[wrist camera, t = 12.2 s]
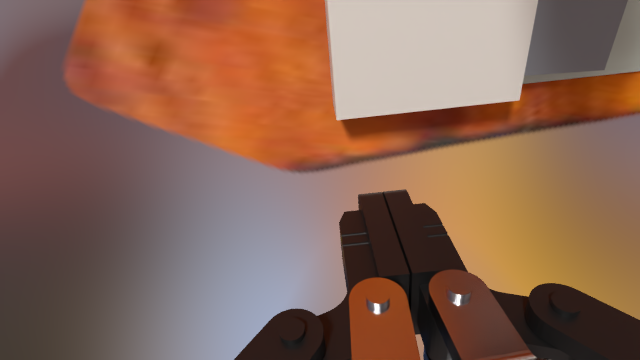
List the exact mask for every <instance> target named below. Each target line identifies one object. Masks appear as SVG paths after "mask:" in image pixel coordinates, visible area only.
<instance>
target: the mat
mask: <svg viewBox="0 0 640 360" xmlns="http://www.w3.org/2000/svg"><path fill="white" fill-rule="evenodd" d="M636 71H640V0H628V2H627V5H626V8H625V11H624V14H623V17H622V19H621V22H620V25H619V28H618V31H617V34H616V37H615V40H614V43H613V46H612V49H611V52H610V55H609V58H608V61H607V64H606V67H605V70H599V71H585V72H571V73H557V74H543V75H529V76H524V79H523V84H527V83H536V82H545V81H554V80H563V79H573V78H582V77H591V76H600V75H609V74H618V73H627V72H636Z"/></svg>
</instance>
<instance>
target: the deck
mask: <svg viewBox="0 0 640 360" xmlns="http://www.w3.org/2000/svg"><path fill="white" fill-rule="evenodd" d="M537 4H538V0H325V10H326V22H327V34H328V46H329V59H330V71H331V83H332V95H333V105H334V110H335V114H336V119H337V120H344V119H353V118H362V117H371V116H380V115H389V114H398V113H408V112H417V111H426V110H435V109H444V108H453V107H462V106H472V105H481V104H490V103H499V102H508V101H517V100H520V94H521V89H522V84H523V79H524V73H525V68H526V63H527V57H528V52H529V47H530V41H531V36H532V31H533V25H534V20H535V15H536V9H537Z"/></svg>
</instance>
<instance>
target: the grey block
mask: <svg viewBox="0 0 640 360" xmlns="http://www.w3.org/2000/svg"><path fill="white" fill-rule="evenodd" d="M627 2H628V0H538V4H537V9H536V15H535V20H534V25H533V31H532V36H531V41H530V47H529V52H528V57H527V63H526V68H525V73H524V76H529V75H543V74H557V73H571V72H585V71H599V70H605V67H606V64H607V61H608V58H609V55H610V52H611V49H612V46H613V43H614V40H615V37H616V34H617V31H618V28H619V25H620V22H621V19H622V17H623V14H624V11H625V8H626V5H627Z"/></svg>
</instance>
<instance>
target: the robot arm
mask: <svg viewBox="0 0 640 360" xmlns="http://www.w3.org/2000/svg"><path fill="white" fill-rule="evenodd" d="M358 204H359V210H357V211H348V212H344V214H343V216H342V218H341V220H340V222H339V225H340V237H341V248H342V257H343V258H342V259H343V266H344V273H345V280H346V287H347V295H346V297H345V298H344V300H343V301H342V303H341V304H339V305H338V306H337V307H336V308H334V309H332V310H330V311H328V312H326V313H323V314H321V315H319V316H316V315H315V314H313V313H312V312H310V311H307V310H304V309H290V310H286V311H283V312H281V313H279V314H277V315H276V316H274V317H273V318H272V319H271V320H270V321H269V322H268V323H267V324H266V325H265V326H264V327H263V329H262V330H261V331H260V332H259V333H258V334H257V335H256V336H255V337H254V338H253V339H252V341H251V342H250V343H249V344H248V345H247V346H246V347H245V348H244V349H243V350H242V351H241V353H240V354H239V355H238V356H237V357H236V358H235V359H234V360H420V356H419V351H418V346H417V341H416V337H415V335H416V334H421V337H422V341H423V344H424V354H423V357H424V360H640V320H638V319H636V318H634V317H632V316H630V315H628V314H626V313H624V312H622V311H620V310H618V309H616V308H613V307H611V306H609V305H607V304H605V303H603V302H601V301H599V300H597V299H595V298H593V297H591V296H589V295H587V294H585V293H582V292H581V291H578V290H576V289H574V288H572V287H569V286H566V285H561V284H555V283H547V284H542V285H538V286H537V287H535V288H534V289H533V290H532V291H531V293H530V295H529V297H527V296H520V295H514V294H507V293H502V292H497V291H494V290H491V289H489V288H488V287H487V286H486V284H485V283H484V282H483V281H482V280H481V279H480V278H478V277H477V276H475V275H473V274H471V273H468V271H467V270H466V268H465V266H464V264H463V262H462V260H461V258H460V256H459V254H458V252H457V251H456V249H455V247H454V245H453V243H452V241H451V239H450V237H449V236H448V235H447V232H446V230H445V228H444V226H443V225H442V222H441V220H440V218H439V217H438V215H437V213H436V212H435V211H434V210H433V209H431V208H430V207H429V206H428V205H426V204H425V203H422V204H413V203H412V201H411V199H410V196H409V194H408V192H407V191H406V190H396V191H387V192H378V193H368V194H359V195H358Z"/></svg>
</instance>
